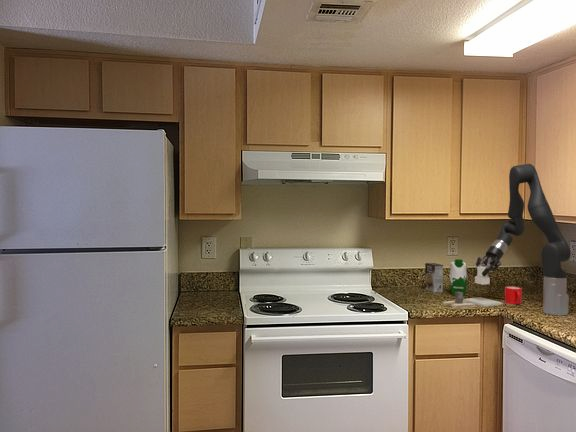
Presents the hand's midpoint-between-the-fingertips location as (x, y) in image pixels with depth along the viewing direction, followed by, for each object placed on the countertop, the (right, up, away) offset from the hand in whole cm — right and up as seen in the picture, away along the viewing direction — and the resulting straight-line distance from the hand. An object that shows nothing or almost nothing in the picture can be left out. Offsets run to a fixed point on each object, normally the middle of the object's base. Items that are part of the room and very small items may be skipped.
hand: (479, 274), depth 224 cm
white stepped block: (+2, -5, +1) cm, 5 cm away
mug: (+18, -15, -1) cm, 24 cm away
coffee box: (-13, -14, +33) cm, 38 cm away
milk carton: (-2, -15, +23) cm, 28 cm away
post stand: (-13, -15, -5) cm, 20 cm away
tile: (+2, -15, +1) cm, 15 cm away
